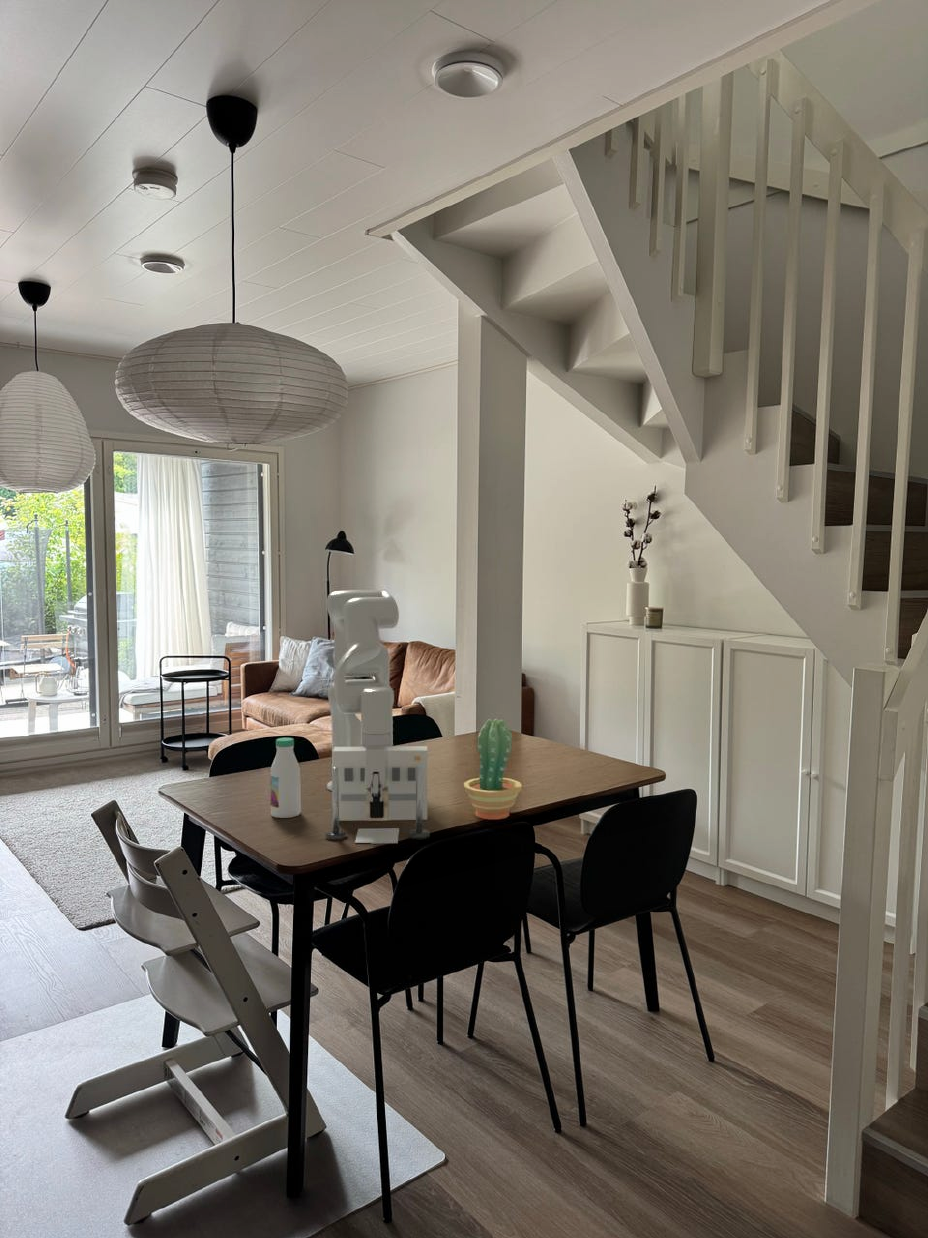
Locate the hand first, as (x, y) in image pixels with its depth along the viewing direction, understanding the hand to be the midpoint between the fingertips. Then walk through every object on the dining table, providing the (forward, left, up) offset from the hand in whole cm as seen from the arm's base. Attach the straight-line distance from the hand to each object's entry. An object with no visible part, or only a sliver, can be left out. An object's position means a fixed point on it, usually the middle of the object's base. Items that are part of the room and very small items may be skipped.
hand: (377, 813), depth 207 cm
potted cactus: (-17, +29, -6) cm, 34 cm away
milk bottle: (-19, -25, -6) cm, 32 cm away
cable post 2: (0, +10, -6) cm, 12 cm away
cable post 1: (0, -10, -6) cm, 12 cm away
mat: (0, 0, -6) cm, 6 cm away
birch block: (0, 0, -1) cm, 1 cm away
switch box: (-16, 0, -6) cm, 17 cm away
